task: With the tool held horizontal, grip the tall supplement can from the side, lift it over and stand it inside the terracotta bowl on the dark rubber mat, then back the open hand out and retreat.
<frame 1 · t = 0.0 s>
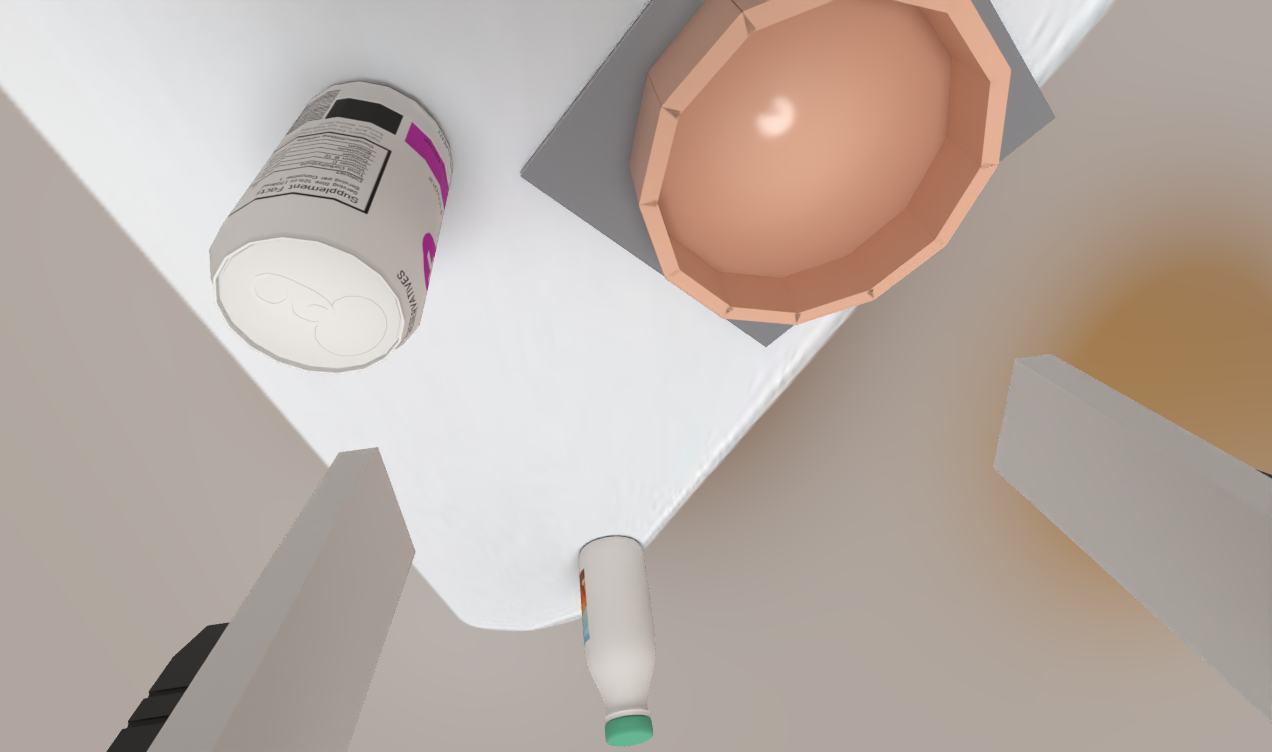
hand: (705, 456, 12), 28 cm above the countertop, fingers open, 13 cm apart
bowl: (790, 142, 37), on the countertop
milk bottle: (610, 549, 71), on the countertop
supplement can: (381, 150, 35), on the countertop
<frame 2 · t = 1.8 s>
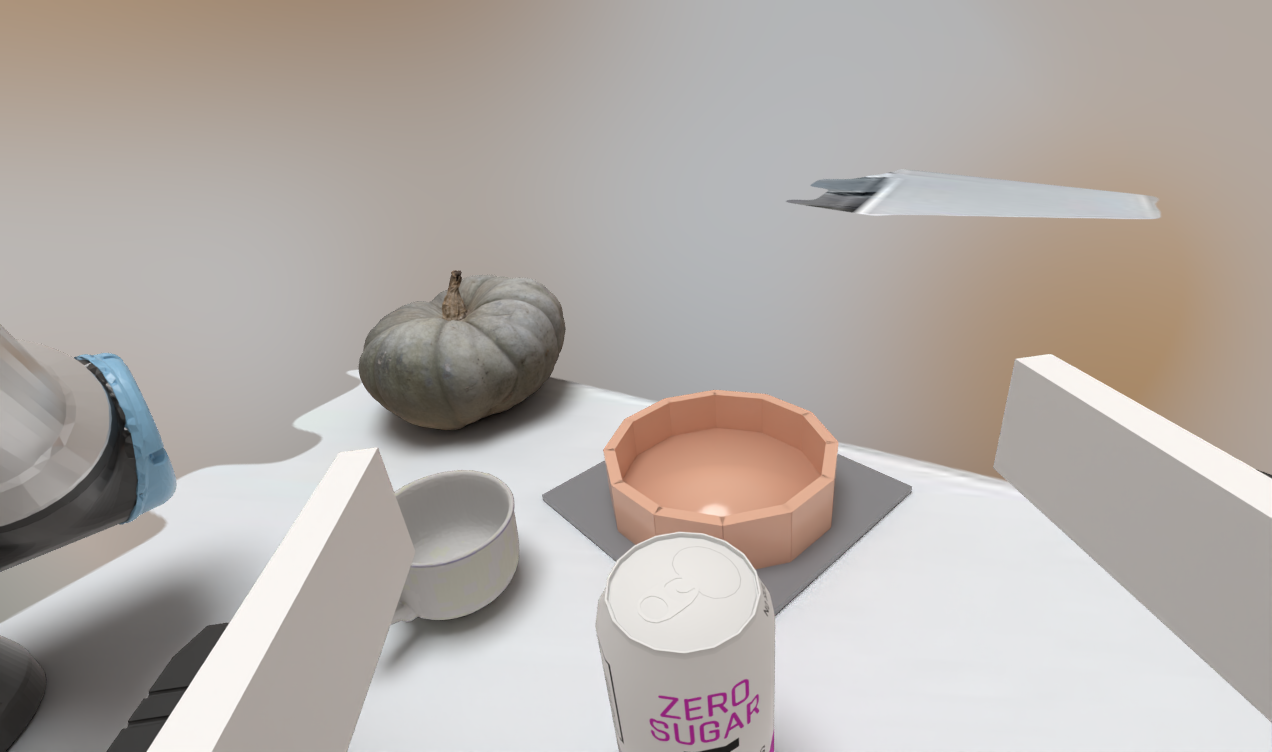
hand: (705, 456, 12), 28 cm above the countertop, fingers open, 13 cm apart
teacup: (449, 601, 47), on the countertop
bowl: (720, 496, 55), on the countertop
gourd: (479, 402, 77), on the countertop
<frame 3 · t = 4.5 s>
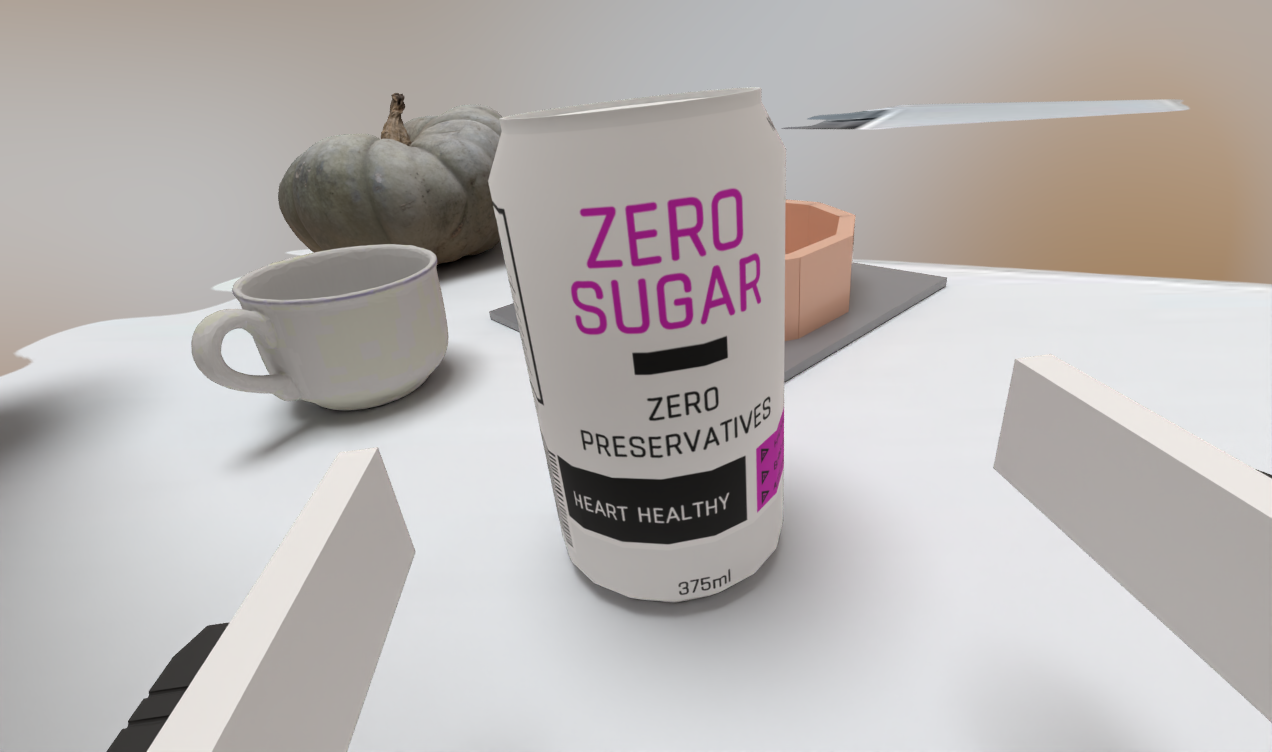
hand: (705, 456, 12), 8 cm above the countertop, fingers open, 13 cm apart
teacup: (356, 400, 36), on the countertop
bowl: (708, 302, 44), on the countertop
gourd: (430, 261, 66), on the countertop
supplement can: (672, 534, 23), on the countertop
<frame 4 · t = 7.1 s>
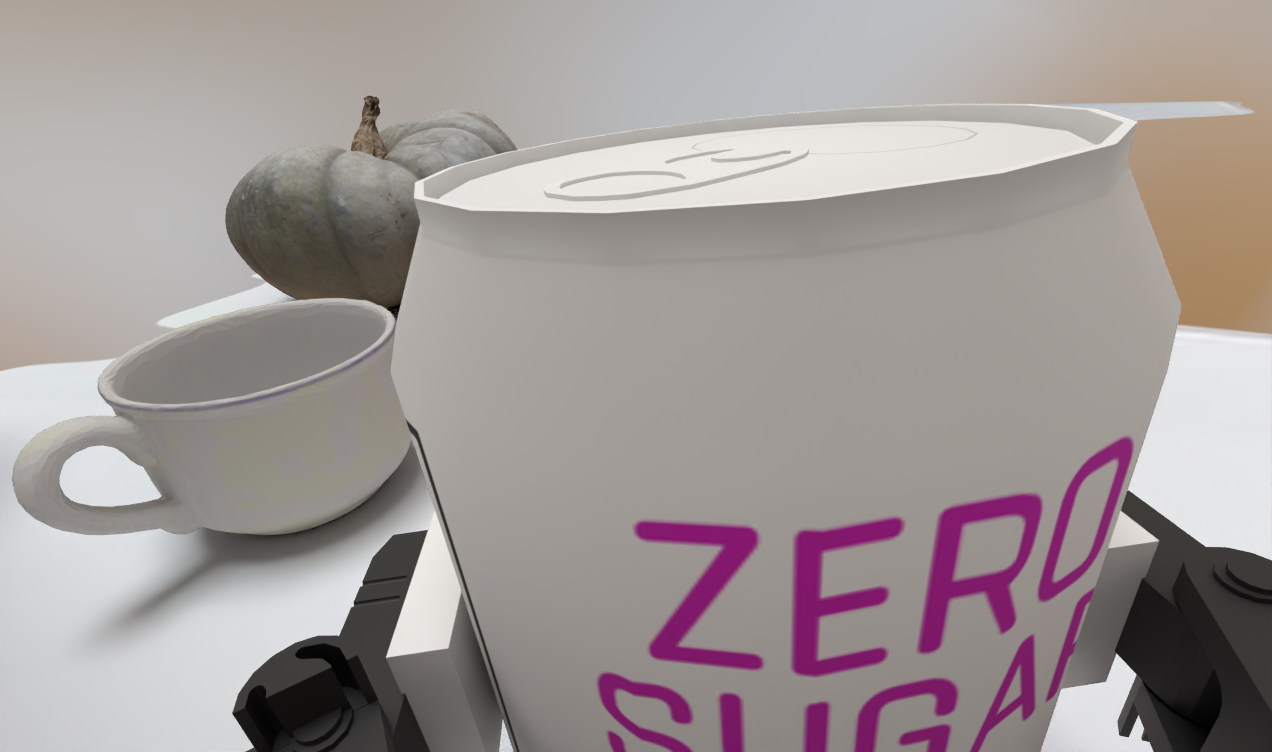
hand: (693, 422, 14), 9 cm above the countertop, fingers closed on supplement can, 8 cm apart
teacup: (289, 512, 27), on the countertop
gourd: (411, 292, 57), on the countertop
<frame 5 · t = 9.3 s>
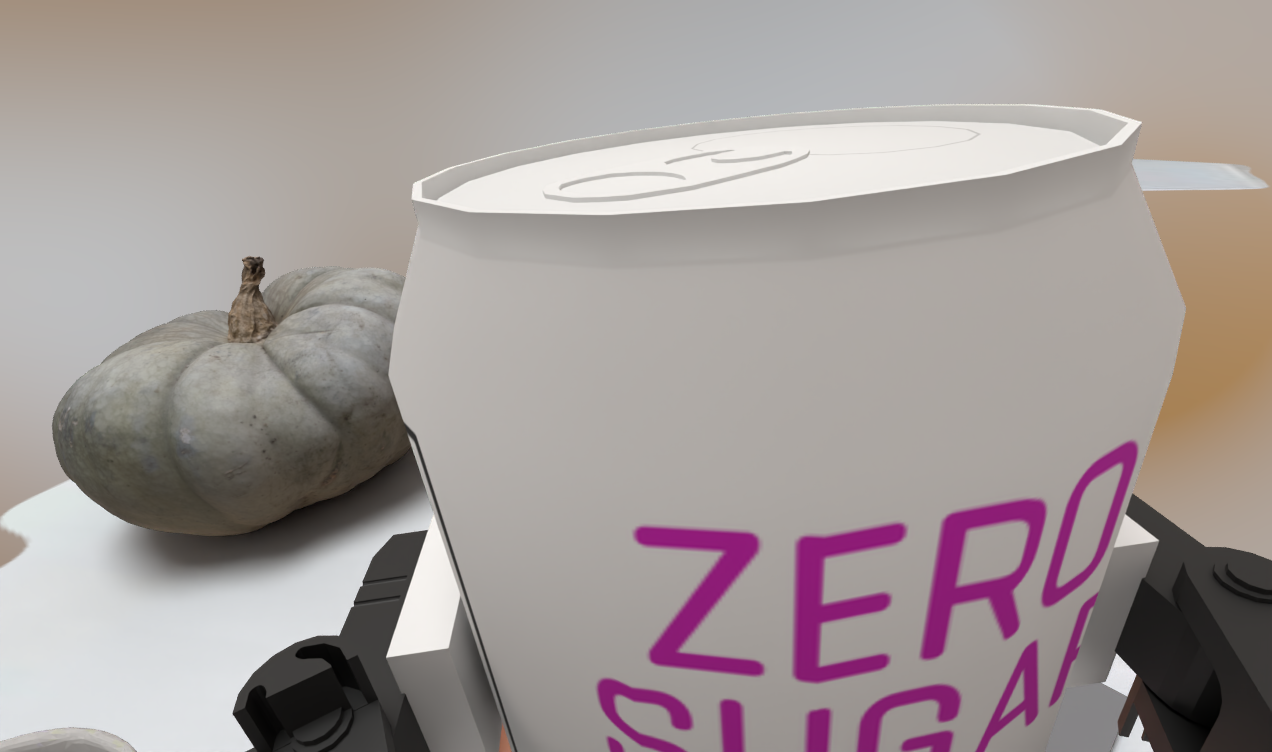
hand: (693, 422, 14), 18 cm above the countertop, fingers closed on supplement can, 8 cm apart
bowl: (710, 712, 26), on the countertop
gourd: (315, 472, 47), on the countertop
when the fingers open (12 cm above the countertop, at t = 11.9 s): supplement can drops 1 cm, resting on bowl.
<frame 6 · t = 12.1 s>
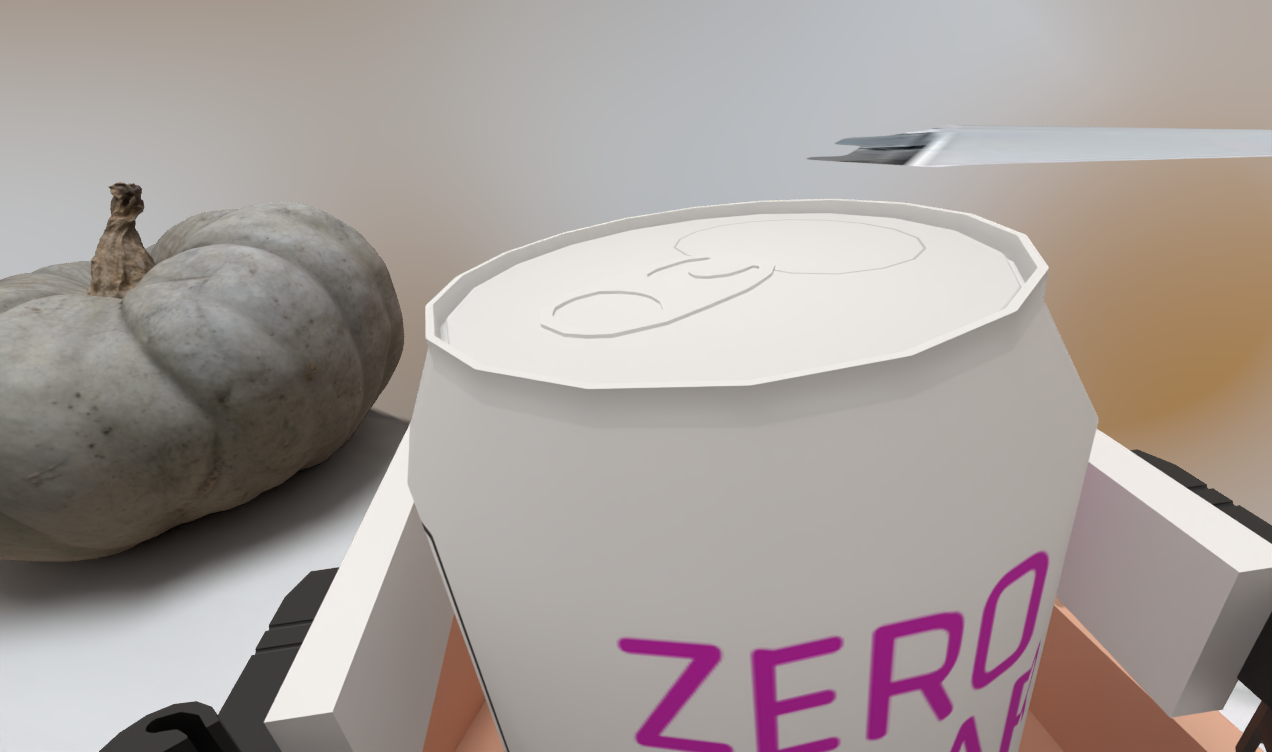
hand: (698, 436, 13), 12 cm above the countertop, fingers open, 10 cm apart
gourd: (225, 473, 37), on the countertop
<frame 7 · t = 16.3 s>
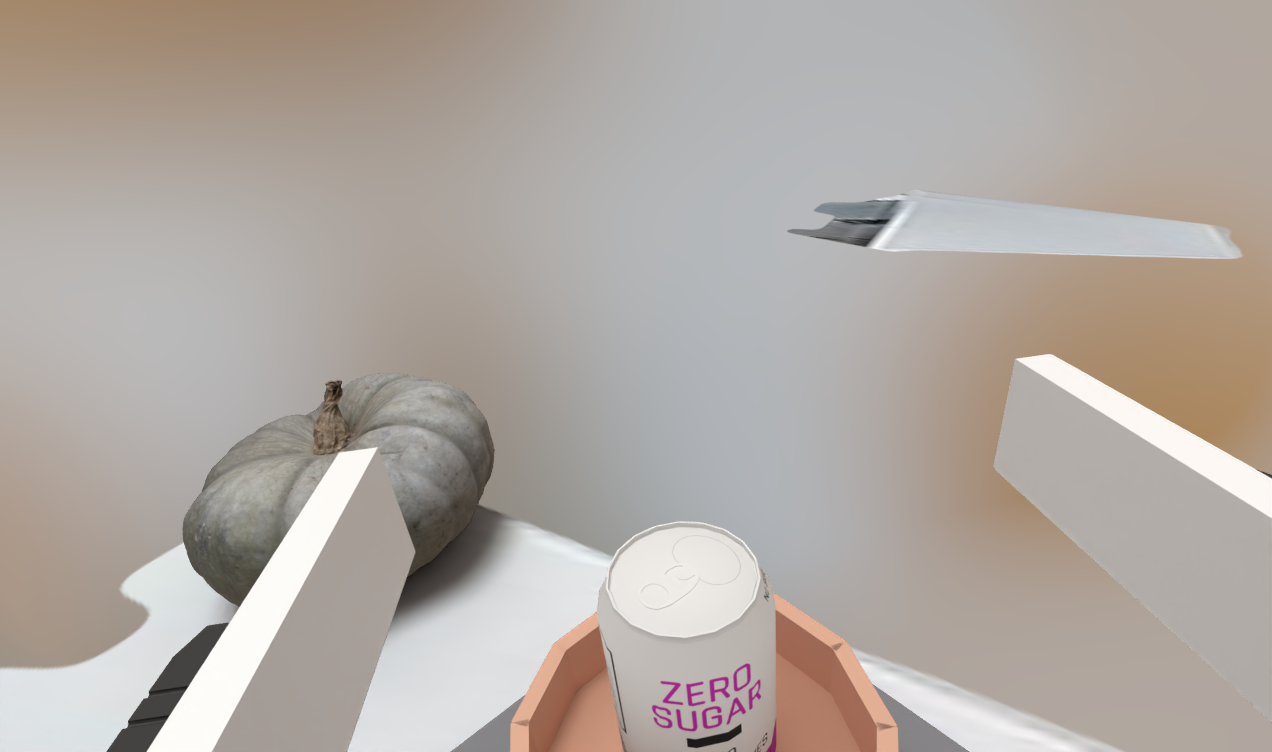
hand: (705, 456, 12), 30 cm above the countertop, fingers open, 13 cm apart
gourd: (378, 549, 56), on the countertop
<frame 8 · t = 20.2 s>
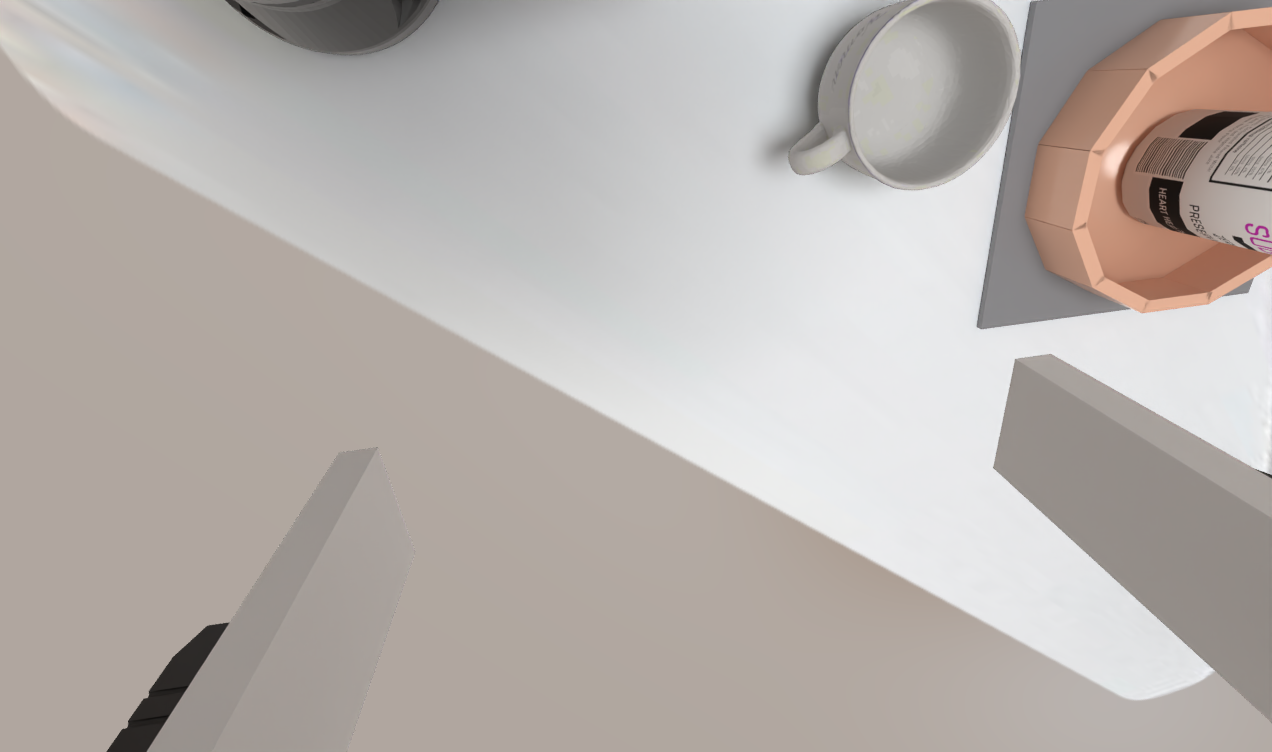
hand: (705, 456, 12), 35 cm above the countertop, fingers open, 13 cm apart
teacup: (853, 102, 42), on the countertop
bowl: (1149, 164, 46), on the countertop
supplement can: (1164, 167, 45), point 1 cm above the countertop, touching bowl
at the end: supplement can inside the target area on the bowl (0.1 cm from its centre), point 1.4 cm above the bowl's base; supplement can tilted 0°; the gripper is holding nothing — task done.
